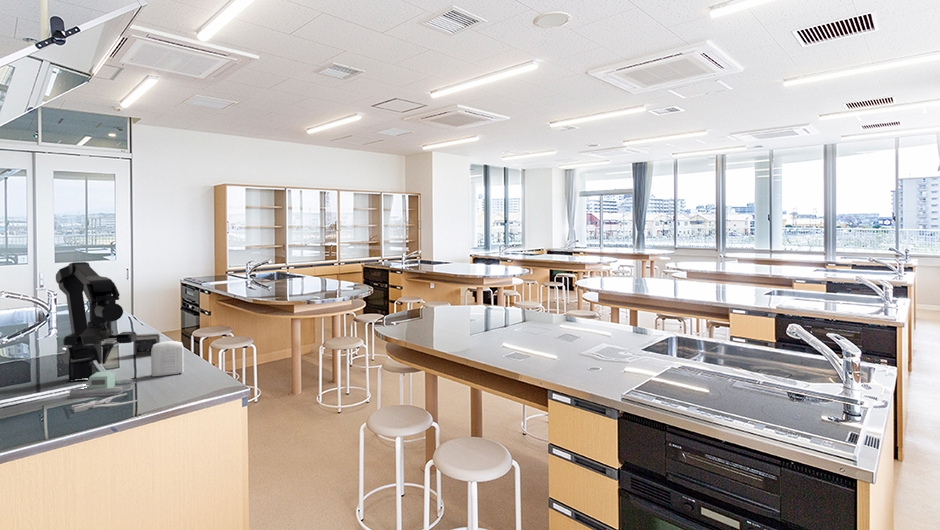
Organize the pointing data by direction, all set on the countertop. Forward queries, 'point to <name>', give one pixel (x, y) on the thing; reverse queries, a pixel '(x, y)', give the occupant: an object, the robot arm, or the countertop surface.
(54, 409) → the countertop surface
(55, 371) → the countertop surface
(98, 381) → the green module
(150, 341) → the electrical switch
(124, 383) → the mounting board
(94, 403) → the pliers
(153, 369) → the photo printer
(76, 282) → the robot arm
